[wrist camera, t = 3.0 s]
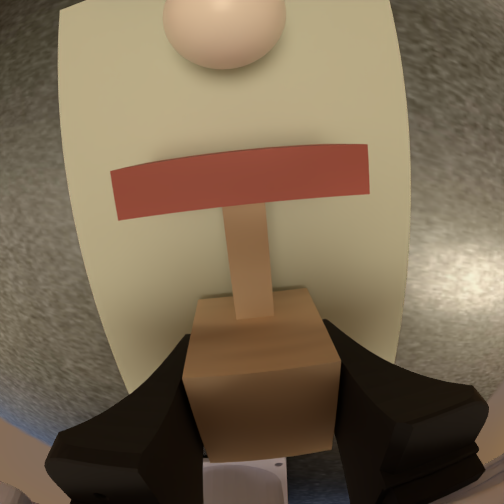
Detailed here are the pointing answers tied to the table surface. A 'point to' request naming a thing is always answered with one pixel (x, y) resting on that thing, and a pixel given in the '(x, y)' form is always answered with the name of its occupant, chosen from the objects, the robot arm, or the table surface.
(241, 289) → the t-shaped pusher
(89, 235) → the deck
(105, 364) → the table surface
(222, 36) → the ball
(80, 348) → the table surface
